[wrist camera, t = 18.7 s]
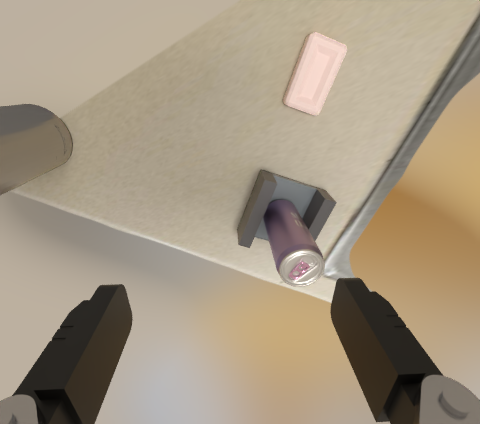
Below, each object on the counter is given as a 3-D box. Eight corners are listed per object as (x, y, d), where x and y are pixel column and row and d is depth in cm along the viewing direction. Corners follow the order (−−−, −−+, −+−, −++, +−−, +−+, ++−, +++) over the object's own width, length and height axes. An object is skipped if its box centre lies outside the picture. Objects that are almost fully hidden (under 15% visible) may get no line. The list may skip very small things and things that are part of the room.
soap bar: (342, 48, 35) (350, 46, 33) (313, 115, 39) (318, 117, 37) (307, 33, 34) (312, 29, 32) (281, 103, 38) (284, 104, 36)
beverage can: (255, 217, 45) (268, 274, 31) (277, 191, 43) (300, 240, 29) (281, 234, 47) (303, 294, 33) (303, 209, 45) (336, 264, 31)
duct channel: (296, 245, 49) (303, 261, 45) (237, 229, 47) (238, 244, 42) (325, 190, 44) (336, 202, 40) (260, 169, 42) (265, 179, 37)
